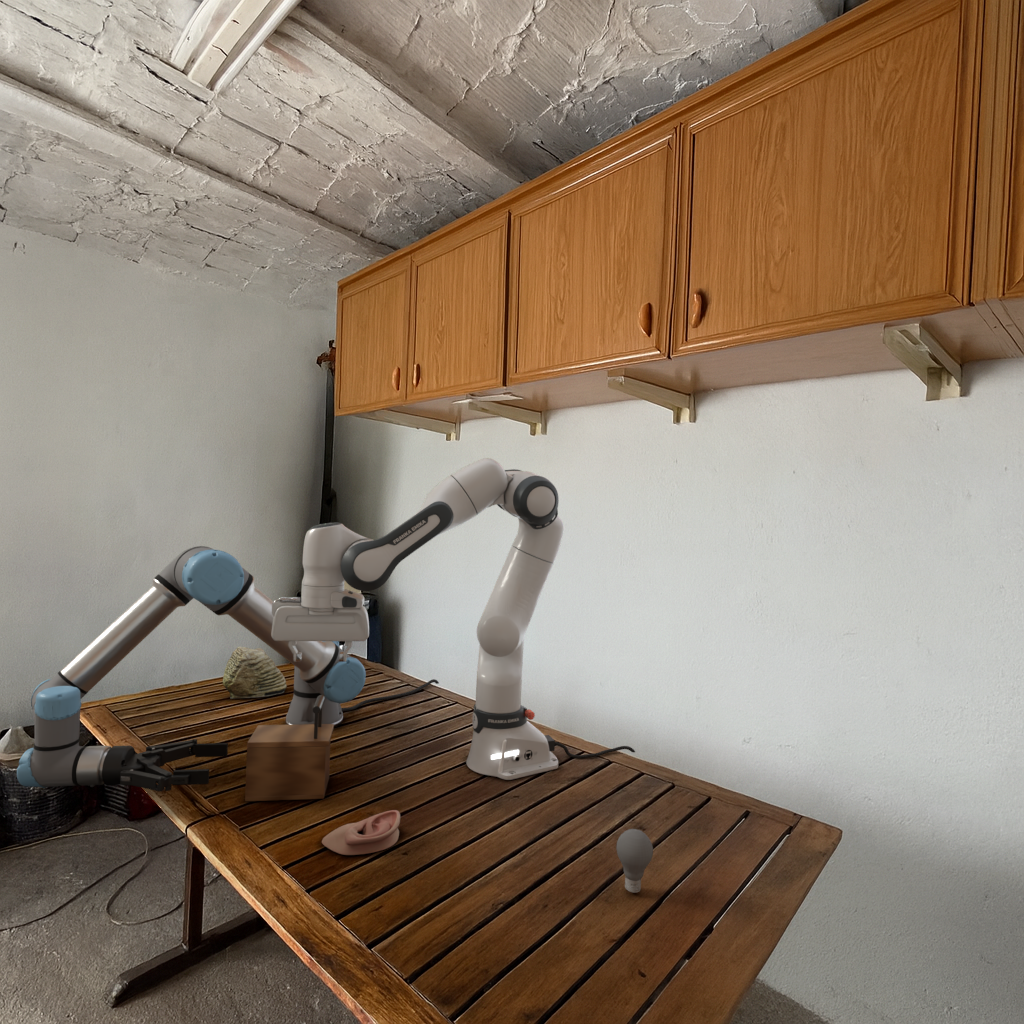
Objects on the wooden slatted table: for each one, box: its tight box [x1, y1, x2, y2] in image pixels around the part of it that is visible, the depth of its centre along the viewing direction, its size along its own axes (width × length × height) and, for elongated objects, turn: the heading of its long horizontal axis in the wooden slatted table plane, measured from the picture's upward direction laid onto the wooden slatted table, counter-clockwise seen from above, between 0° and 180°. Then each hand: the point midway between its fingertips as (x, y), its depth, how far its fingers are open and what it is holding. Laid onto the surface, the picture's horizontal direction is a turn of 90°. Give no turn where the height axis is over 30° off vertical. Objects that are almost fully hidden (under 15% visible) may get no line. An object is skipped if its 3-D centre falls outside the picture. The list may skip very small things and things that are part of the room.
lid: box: [246, 695, 335, 749], centre depth 136 cm, size 16×10×8 cm, turn 100°
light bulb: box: [615, 828, 654, 894], centre depth 106 cm, size 6×6×10 cm
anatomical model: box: [321, 809, 401, 856], centre depth 118 cm, size 13×4×12 cm
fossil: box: [222, 646, 288, 699], centre depth 198 cm, size 9×18×15 cm, turn 132°
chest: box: [244, 739, 332, 802], centre depth 136 cm, size 16×10×11 cm, turn 100°
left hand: (218, 762), depth 134 cm, fingers open, 13 cm apart
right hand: (320, 661), depth 137 cm, fingers open, 8 cm apart
